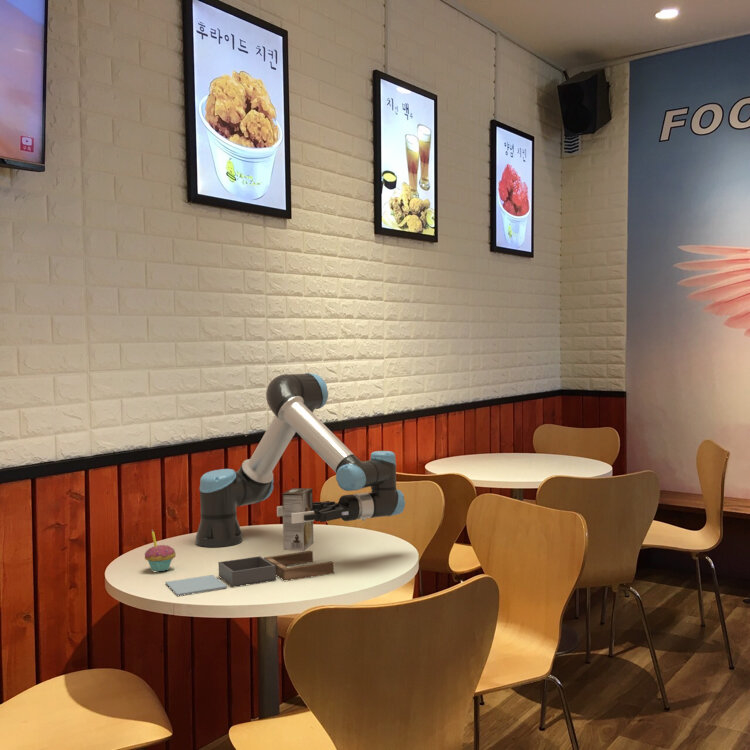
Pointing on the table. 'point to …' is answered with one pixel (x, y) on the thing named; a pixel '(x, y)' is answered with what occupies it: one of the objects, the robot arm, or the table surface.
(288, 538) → the coffee box
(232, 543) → the robot arm
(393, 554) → the table surface
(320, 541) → the table surface
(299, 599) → the table surface
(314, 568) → the walnut slot
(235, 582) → the bin
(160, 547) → the cupcake
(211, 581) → the mat
